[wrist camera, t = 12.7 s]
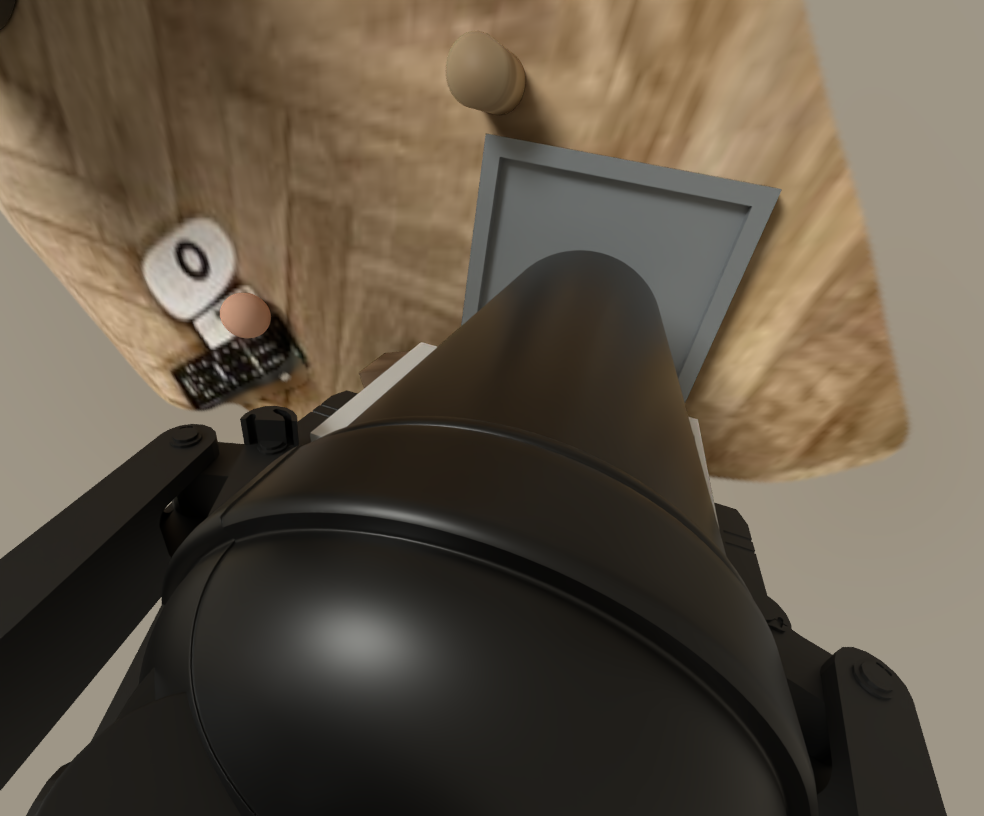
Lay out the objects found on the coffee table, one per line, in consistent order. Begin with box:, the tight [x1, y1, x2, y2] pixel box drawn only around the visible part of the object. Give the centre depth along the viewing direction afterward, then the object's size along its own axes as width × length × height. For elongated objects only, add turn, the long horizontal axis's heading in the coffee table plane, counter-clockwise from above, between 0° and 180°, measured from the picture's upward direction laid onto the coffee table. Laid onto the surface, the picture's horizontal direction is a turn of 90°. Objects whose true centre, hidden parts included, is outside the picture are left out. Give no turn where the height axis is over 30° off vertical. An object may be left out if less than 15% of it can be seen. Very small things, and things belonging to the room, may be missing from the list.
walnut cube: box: [359, 351, 410, 388], centre depth 35 cm, size 4×4×4 cm
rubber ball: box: [220, 293, 271, 338], centre depth 36 cm, size 4×4×4 cm
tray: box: [461, 134, 782, 403], centre depth 29 cm, size 16×16×1 cm
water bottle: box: [35, 250, 819, 816], centre depth 14 cm, size 10×10×23 cm
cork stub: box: [446, 31, 525, 115], centre depth 23 cm, size 3×3×4 cm
